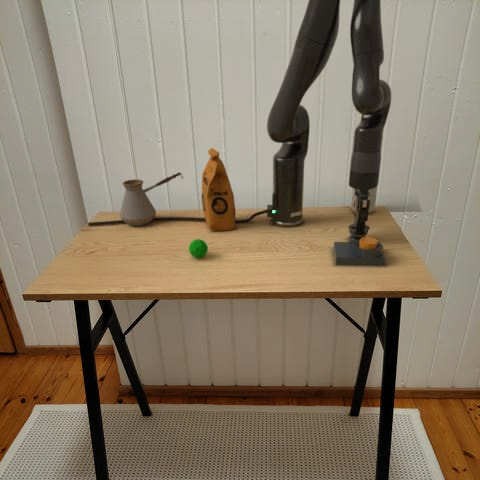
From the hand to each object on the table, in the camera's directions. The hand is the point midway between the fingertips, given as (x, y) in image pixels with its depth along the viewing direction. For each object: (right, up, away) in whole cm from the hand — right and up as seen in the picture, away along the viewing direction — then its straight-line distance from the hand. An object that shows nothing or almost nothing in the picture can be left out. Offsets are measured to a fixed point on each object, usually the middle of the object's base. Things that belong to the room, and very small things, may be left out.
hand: (358, 229), depth 126 cm
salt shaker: (0, -3, +2) cm, 3 cm away
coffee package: (-39, +5, +16) cm, 43 cm away
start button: (-1, -7, -11) cm, 13 cm away
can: (+7, +10, +22) cm, 25 cm away
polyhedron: (-44, -8, -3) cm, 45 cm away
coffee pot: (-61, +7, +21) cm, 65 cm away
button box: (-2, -9, -8) cm, 12 cm away
